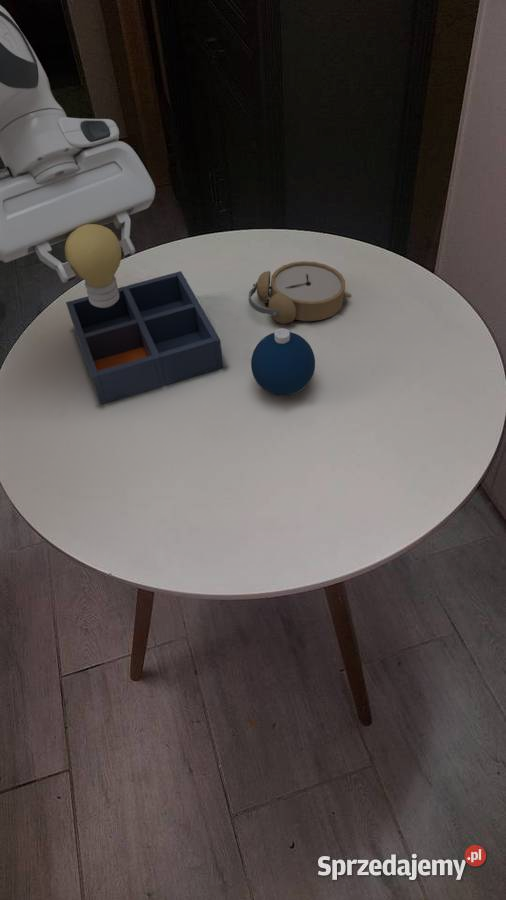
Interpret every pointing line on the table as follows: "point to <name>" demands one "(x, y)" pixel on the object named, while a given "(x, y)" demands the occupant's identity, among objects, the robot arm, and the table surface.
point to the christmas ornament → (283, 363)
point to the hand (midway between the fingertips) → (100, 267)
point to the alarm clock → (300, 292)
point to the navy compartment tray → (145, 337)
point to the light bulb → (95, 262)
